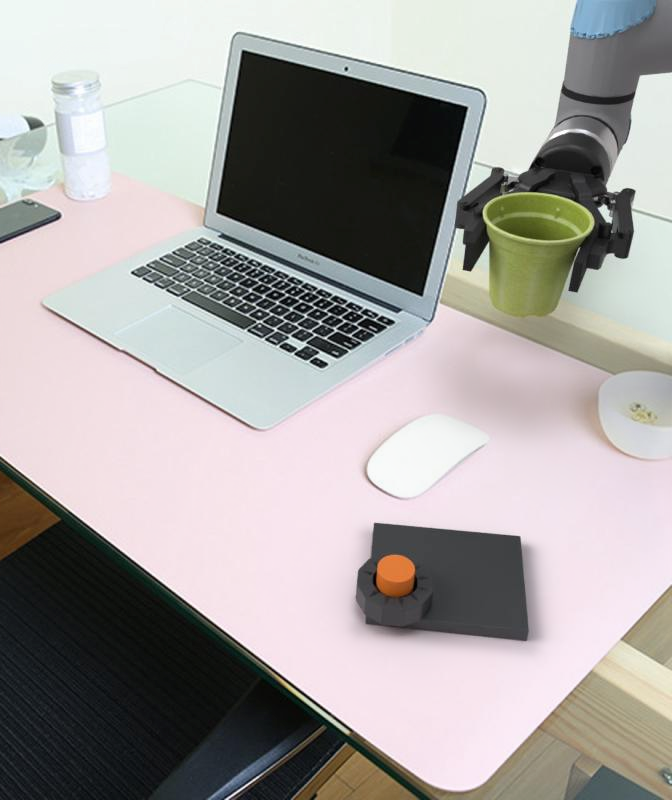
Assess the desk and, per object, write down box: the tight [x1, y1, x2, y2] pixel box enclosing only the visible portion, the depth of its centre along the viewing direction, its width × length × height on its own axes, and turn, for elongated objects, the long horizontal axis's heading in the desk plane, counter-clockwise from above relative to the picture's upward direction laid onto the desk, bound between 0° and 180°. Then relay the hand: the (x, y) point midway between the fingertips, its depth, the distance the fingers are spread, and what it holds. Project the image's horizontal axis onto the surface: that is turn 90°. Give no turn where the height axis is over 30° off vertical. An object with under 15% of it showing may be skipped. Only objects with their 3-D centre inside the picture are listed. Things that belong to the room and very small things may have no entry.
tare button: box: [376, 555, 415, 598], centre depth 72 cm, size 3×3×2 cm
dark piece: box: [355, 522, 530, 642], centre depth 74 cm, size 13×11×3 cm
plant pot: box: [483, 192, 594, 318], centre depth 84 cm, size 9×9×9 cm
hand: (521, 266), depth 80 cm, fingers closed on plant pot, 8 cm apart
